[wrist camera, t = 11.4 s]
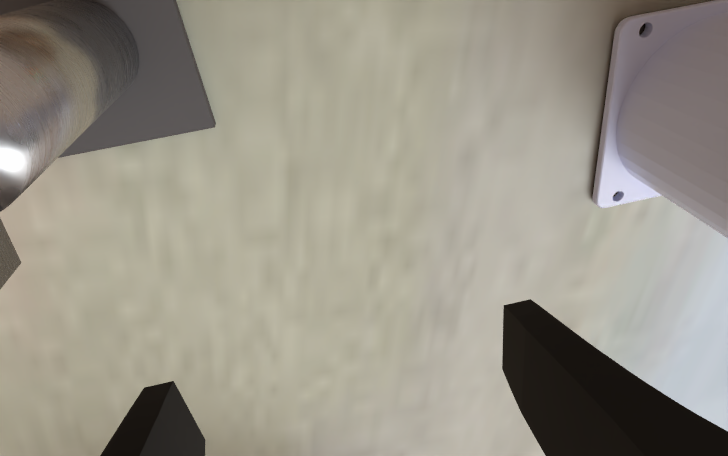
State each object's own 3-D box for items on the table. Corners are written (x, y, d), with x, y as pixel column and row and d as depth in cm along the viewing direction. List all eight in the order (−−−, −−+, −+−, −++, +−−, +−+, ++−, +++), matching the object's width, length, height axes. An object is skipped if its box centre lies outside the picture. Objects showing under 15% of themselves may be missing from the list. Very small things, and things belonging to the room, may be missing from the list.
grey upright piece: (115, -44, 14) (-103, -20, 6) (157, 125, 16) (45, 297, 8) (2, -42, 13) (-392, -13, 5) (63, 130, 16) (-144, 315, 8)
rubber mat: (151, -74, 14) (148, -74, 13) (215, 123, 17) (214, 127, 17) (-63, -39, 13) (-72, -38, 13) (44, 156, 17) (39, 161, 16)
